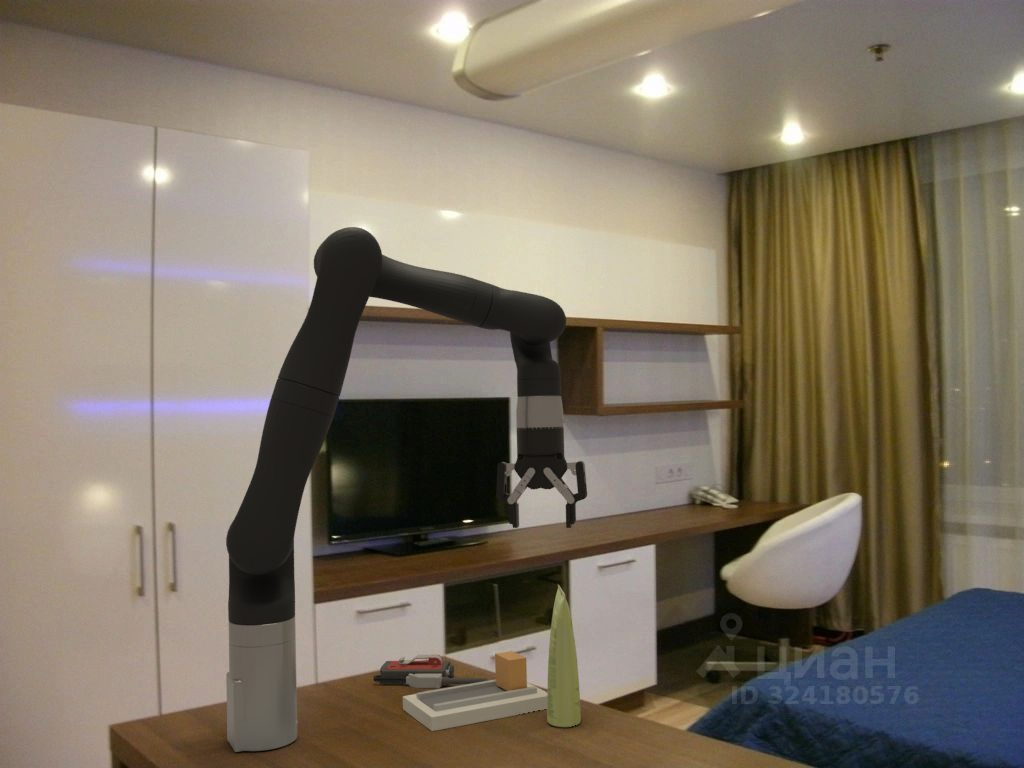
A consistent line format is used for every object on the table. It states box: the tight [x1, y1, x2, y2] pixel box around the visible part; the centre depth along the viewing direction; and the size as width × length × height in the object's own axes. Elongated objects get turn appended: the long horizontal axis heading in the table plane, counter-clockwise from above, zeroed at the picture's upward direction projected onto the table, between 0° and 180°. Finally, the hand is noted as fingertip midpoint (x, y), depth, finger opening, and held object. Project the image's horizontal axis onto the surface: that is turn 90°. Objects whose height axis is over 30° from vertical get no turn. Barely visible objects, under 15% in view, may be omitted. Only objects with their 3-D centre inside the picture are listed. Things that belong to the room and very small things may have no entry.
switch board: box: [402, 678, 548, 732], centre depth 143 cm, size 20×12×3 cm, turn 117°
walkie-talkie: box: [373, 654, 489, 689], centre depth 159 cm, size 9×4×20 cm
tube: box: [546, 584, 581, 728], centre depth 135 cm, size 6×5×20 cm
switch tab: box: [494, 650, 528, 691], centre depth 146 cm, size 3×5×5 cm, turn 27°
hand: (542, 527), depth 146 cm, fingers open, 8 cm apart
